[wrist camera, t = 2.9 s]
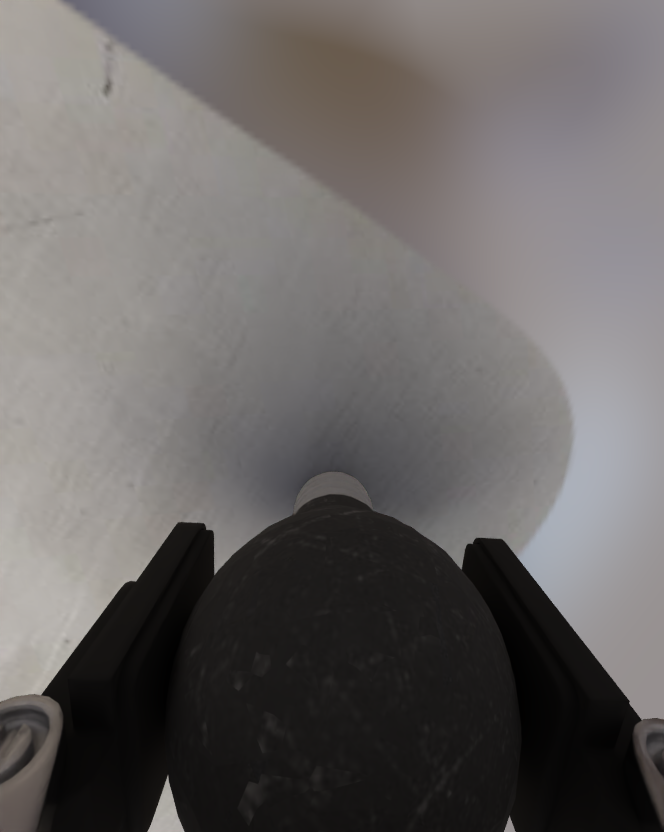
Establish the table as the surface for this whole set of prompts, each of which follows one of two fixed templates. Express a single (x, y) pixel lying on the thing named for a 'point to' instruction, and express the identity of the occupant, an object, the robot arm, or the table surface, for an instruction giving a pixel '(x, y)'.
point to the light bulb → (342, 683)
